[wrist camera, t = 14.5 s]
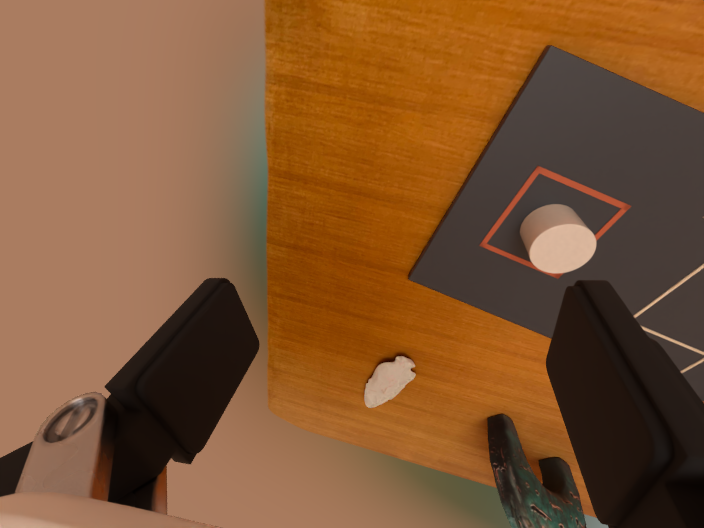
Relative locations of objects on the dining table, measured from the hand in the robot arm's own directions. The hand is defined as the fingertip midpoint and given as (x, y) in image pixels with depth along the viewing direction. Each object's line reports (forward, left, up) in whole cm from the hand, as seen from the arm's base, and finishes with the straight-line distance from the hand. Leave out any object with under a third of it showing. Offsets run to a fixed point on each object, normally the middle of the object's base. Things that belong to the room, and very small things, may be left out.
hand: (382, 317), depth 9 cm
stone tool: (+37, -6, -24) cm, 45 cm away
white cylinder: (+10, +12, -23) cm, 28 cm away
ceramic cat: (+51, +16, -24) cm, 59 cm away
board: (+19, +29, -24) cm, 42 cm away
